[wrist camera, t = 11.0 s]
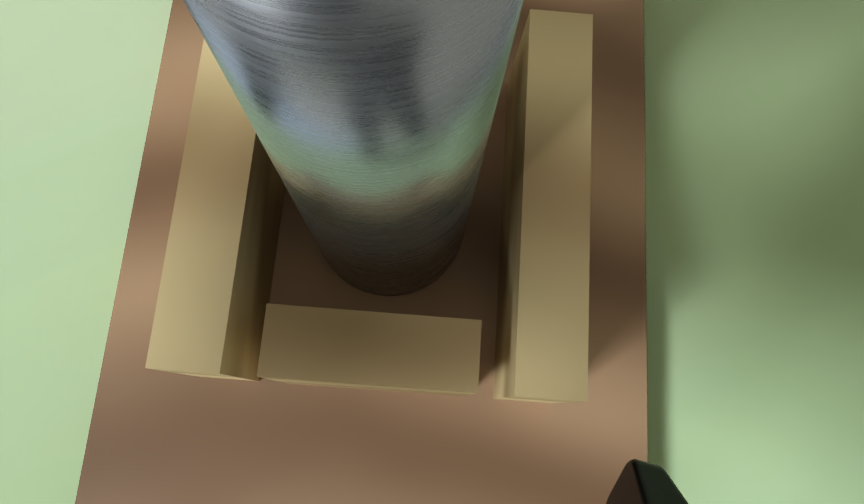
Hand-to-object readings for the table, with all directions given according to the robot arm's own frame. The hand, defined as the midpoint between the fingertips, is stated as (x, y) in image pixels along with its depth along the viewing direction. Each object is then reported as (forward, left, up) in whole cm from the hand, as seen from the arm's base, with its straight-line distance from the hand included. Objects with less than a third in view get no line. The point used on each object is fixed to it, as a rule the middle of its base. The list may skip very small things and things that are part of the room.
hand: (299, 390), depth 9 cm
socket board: (+5, -1, -9) cm, 10 cm away
